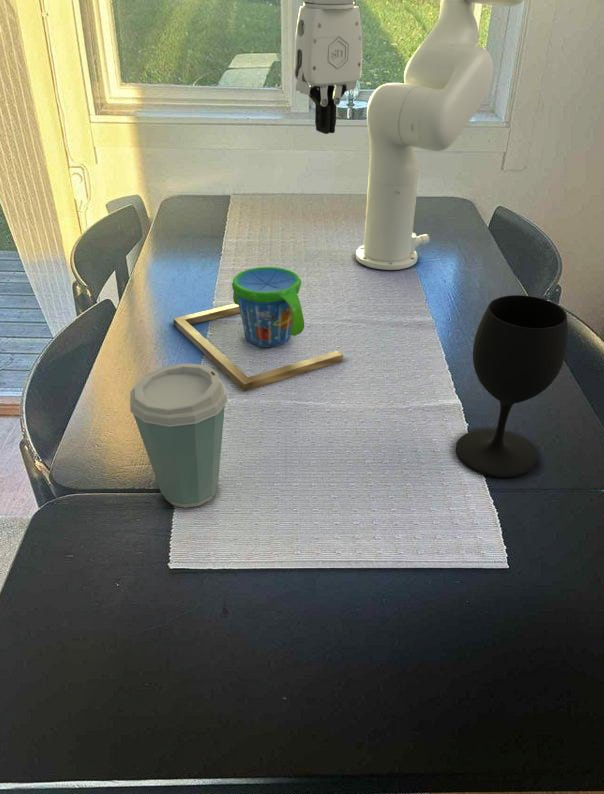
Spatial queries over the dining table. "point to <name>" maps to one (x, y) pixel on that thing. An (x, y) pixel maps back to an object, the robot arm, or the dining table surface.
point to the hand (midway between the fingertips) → (325, 131)
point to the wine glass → (513, 376)
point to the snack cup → (269, 304)
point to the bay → (229, 368)
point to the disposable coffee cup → (182, 429)
